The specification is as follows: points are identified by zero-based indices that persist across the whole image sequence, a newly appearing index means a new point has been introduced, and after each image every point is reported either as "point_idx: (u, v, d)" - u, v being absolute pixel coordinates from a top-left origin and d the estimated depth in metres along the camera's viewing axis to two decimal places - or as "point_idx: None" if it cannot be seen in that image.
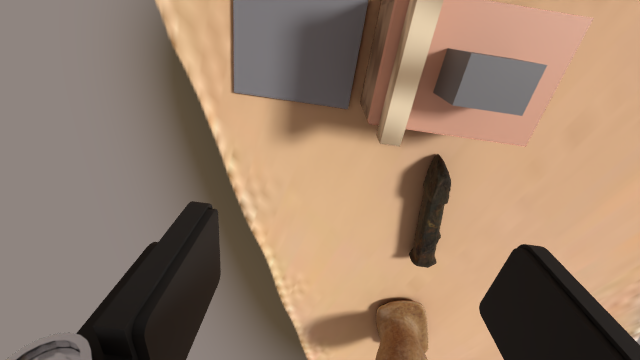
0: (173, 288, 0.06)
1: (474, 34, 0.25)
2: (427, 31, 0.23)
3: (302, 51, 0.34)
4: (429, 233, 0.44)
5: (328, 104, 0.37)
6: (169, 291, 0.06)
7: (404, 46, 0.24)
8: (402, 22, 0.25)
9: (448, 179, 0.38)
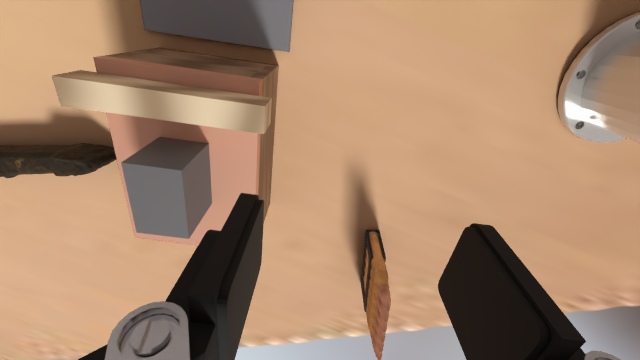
0: (240, 267, 0.07)
1: (226, 166, 0.25)
2: (206, 118, 0.20)
3: None
4: (4, 163, 0.32)
5: None
6: (238, 269, 0.07)
7: (187, 94, 0.19)
8: (224, 89, 0.21)
9: (86, 170, 0.31)
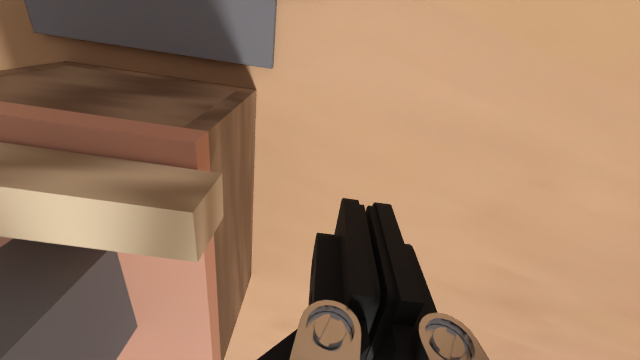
0: None
1: (152, 278, 0.14)
2: (67, 232, 0.09)
3: None
4: None
5: None
6: None
7: (15, 183, 0.08)
8: (127, 154, 0.11)
9: None
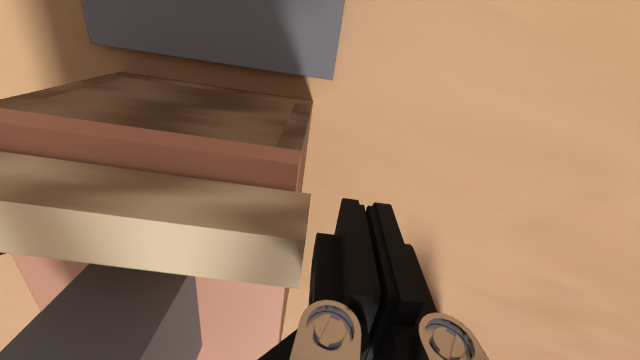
0: None
1: (227, 298, 0.13)
2: (167, 260, 0.09)
3: None
4: None
5: None
6: None
7: (118, 209, 0.08)
8: (224, 176, 0.10)
9: None
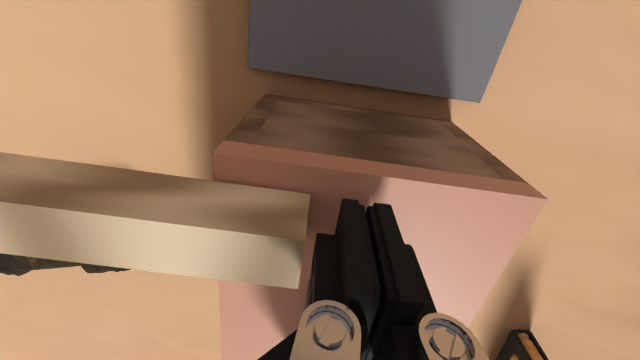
0: None
1: None
2: (166, 260, 0.09)
3: None
4: (12, 258, 0.21)
5: (253, 16, 0.15)
6: None
7: (117, 210, 0.08)
8: (468, 210, 0.11)
9: None
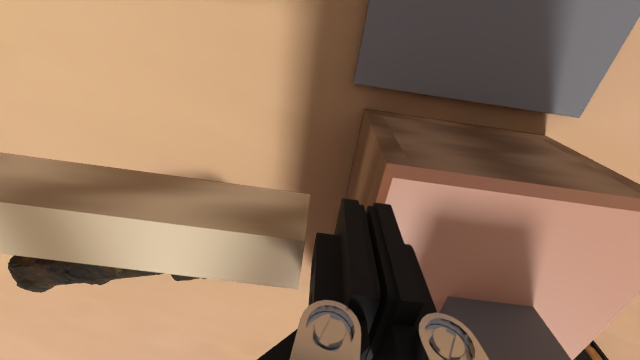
0: None
1: None
2: (166, 261, 0.09)
3: None
4: (98, 267, 0.21)
5: (367, 35, 0.16)
6: None
7: (117, 210, 0.08)
8: (629, 231, 0.11)
9: None
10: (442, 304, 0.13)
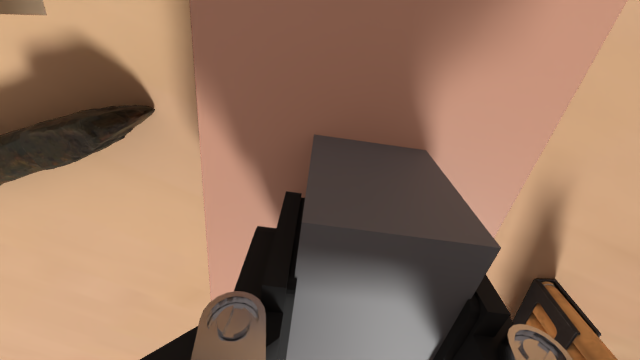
0: None
1: None
2: None
3: None
4: None
5: None
6: None
7: None
8: (528, 5, 0.08)
9: (89, 144, 0.16)
10: (310, 149, 0.10)
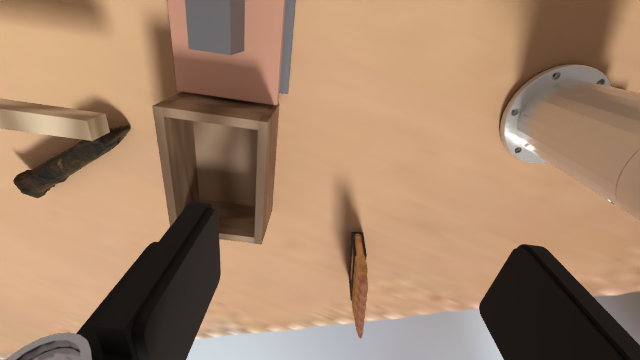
0: (173, 288, 0.06)
1: (258, 11, 0.30)
2: (47, 129, 0.27)
3: None
4: (52, 169, 0.39)
5: None
6: (169, 291, 0.06)
7: (30, 111, 0.26)
8: None
9: (102, 146, 0.36)
10: None
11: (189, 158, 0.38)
